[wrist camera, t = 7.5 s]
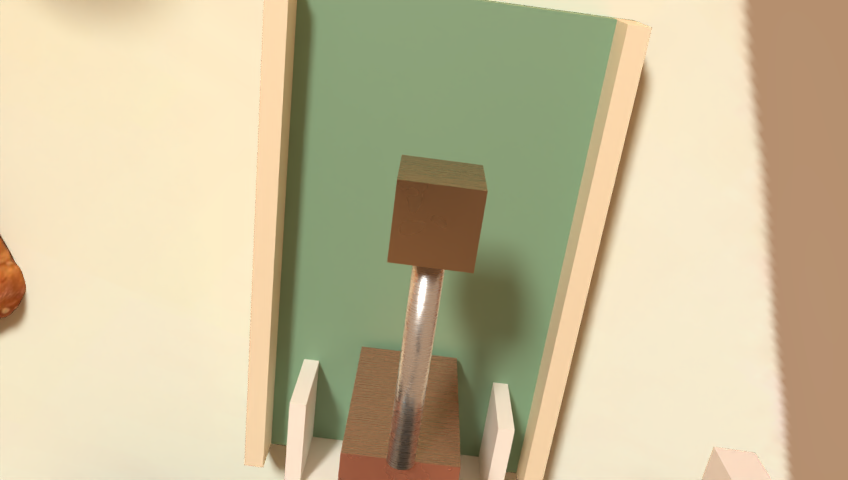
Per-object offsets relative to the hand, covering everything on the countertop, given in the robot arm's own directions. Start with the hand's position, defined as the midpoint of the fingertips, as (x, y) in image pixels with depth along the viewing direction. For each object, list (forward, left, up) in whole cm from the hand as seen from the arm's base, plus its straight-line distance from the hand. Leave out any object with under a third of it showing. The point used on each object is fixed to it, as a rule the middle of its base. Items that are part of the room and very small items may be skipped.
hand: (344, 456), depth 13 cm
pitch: (-6, -2, -24) cm, 24 cm away
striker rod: (-6, -2, -22) cm, 23 cm away
